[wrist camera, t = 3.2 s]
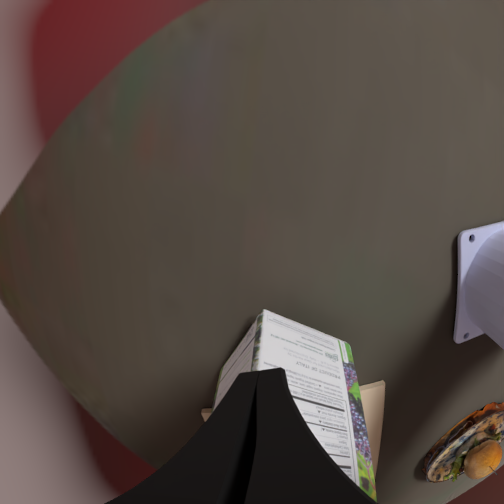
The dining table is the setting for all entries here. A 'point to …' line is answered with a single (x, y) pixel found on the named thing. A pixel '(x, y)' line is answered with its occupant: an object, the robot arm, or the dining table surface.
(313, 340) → the syrup box
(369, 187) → the dining table surface
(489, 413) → the burger
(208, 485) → the robot arm
